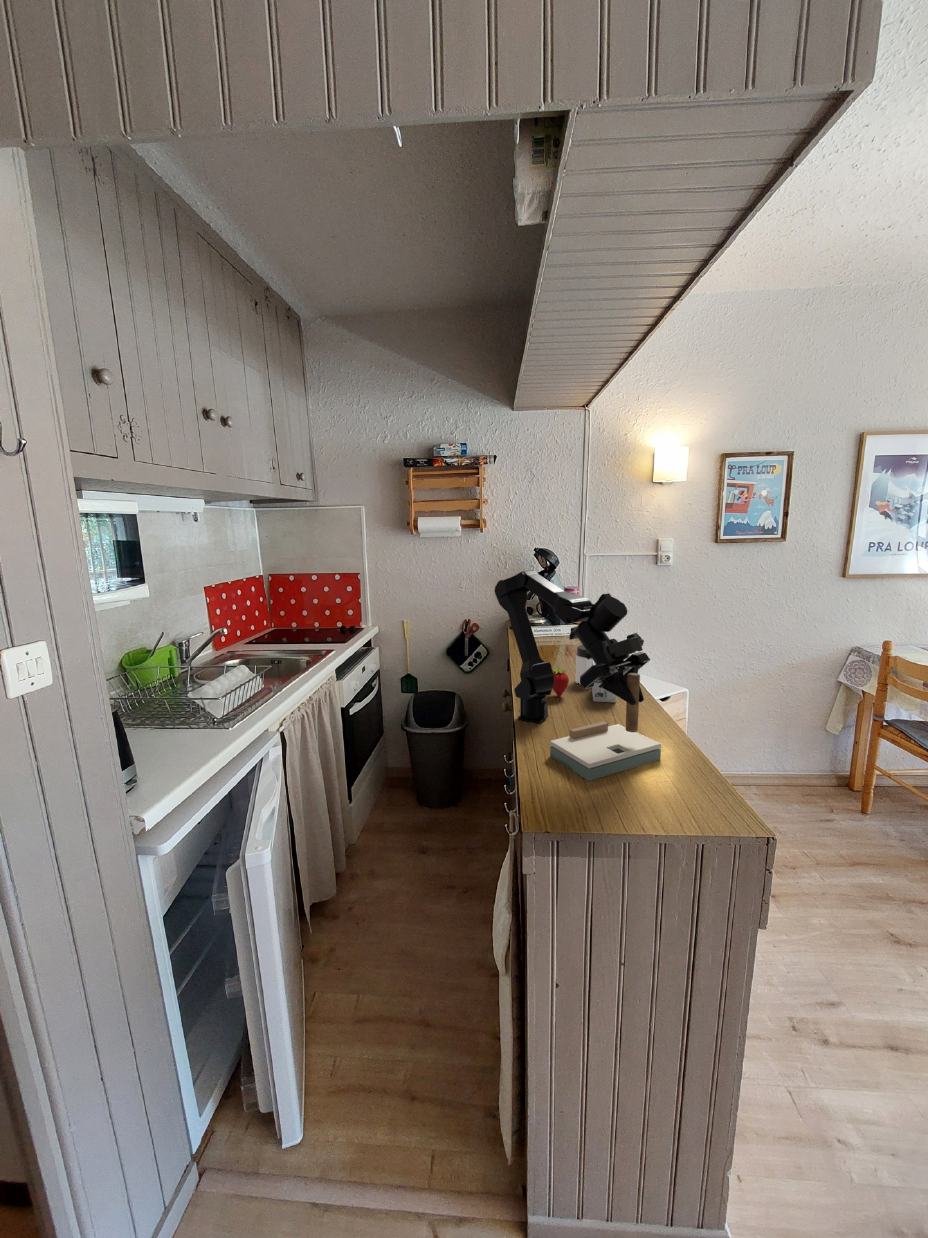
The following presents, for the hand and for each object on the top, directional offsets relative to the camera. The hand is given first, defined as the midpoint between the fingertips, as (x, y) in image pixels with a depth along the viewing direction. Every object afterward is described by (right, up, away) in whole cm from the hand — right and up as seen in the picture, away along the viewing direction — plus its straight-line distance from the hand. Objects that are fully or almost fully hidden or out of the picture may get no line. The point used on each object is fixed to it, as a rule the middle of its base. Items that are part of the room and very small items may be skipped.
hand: (638, 702), depth 106 cm
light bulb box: (+5, -6, +45) cm, 46 cm away
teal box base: (-6, -13, +4) cm, 15 cm away
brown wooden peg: (-1, -6, +2) cm, 7 cm away
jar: (+4, -4, +59) cm, 60 cm away
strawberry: (-8, -6, +46) cm, 47 cm away
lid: (-6, -10, +4) cm, 13 cm away
